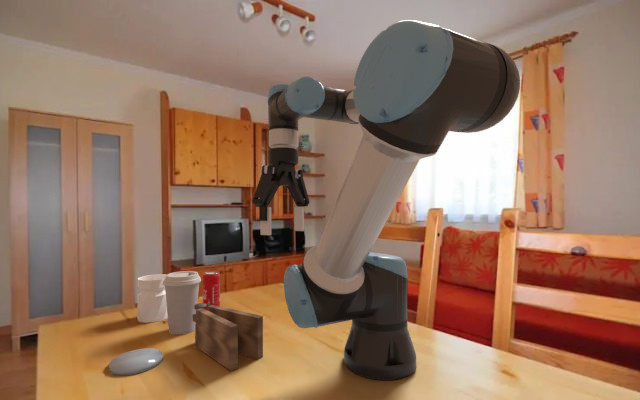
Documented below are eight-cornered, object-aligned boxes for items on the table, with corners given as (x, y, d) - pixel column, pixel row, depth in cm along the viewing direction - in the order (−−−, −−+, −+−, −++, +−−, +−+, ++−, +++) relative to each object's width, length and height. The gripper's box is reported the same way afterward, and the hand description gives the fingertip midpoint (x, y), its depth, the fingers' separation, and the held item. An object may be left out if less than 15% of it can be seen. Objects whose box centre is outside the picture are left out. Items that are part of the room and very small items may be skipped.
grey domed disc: (172, 359, 73) (172, 354, 73) (125, 380, 64) (126, 375, 64) (145, 349, 78) (145, 344, 78) (99, 367, 70) (99, 362, 70)
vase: (169, 320, 98) (169, 278, 98) (135, 324, 94) (135, 281, 94) (170, 311, 106) (170, 273, 106) (138, 314, 102) (138, 275, 102)
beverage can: (217, 313, 103) (217, 274, 103) (200, 313, 103) (200, 274, 103) (222, 308, 108) (222, 271, 108) (206, 308, 108) (206, 271, 109)
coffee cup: (187, 338, 84) (188, 278, 84) (154, 335, 86) (154, 277, 86) (207, 324, 94) (208, 271, 94) (177, 322, 96) (177, 269, 96)
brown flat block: (262, 356, 74) (262, 315, 74) (251, 363, 71) (251, 319, 71) (203, 338, 84) (203, 301, 84) (191, 343, 81) (191, 305, 81)
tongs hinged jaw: (238, 367, 69) (238, 324, 69) (230, 370, 67) (230, 327, 67) (197, 340, 82) (197, 305, 82) (190, 342, 81) (190, 306, 81)
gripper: (299, 155, 97) (299, 229, 97) (236, 142, 76) (236, 236, 76) (321, 153, 93) (321, 229, 93) (261, 139, 72) (262, 237, 72)
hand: (283, 232), depth 84 cm, fingers open, 13 cm apart
